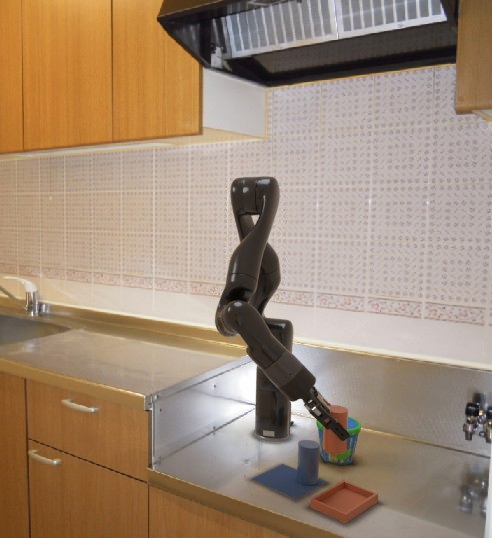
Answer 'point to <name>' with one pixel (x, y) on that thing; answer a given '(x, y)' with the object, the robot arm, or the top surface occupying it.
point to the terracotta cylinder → (329, 438)
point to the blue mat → (285, 481)
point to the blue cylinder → (308, 462)
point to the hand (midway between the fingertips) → (344, 432)
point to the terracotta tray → (344, 501)
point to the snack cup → (347, 457)
